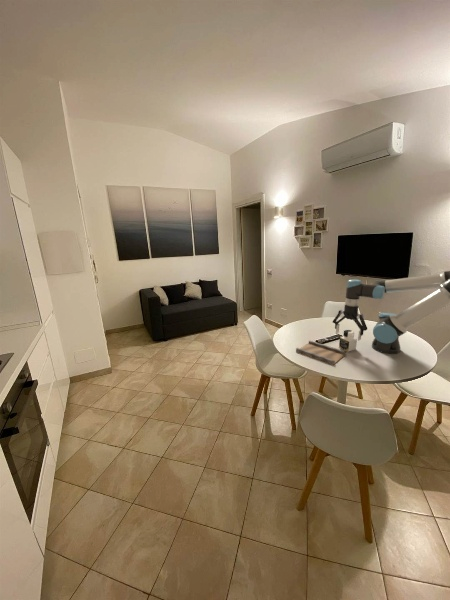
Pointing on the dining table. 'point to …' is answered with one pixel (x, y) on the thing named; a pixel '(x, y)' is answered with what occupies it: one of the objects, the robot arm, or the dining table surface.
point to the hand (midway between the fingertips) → (347, 336)
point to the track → (322, 352)
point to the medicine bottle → (348, 341)
